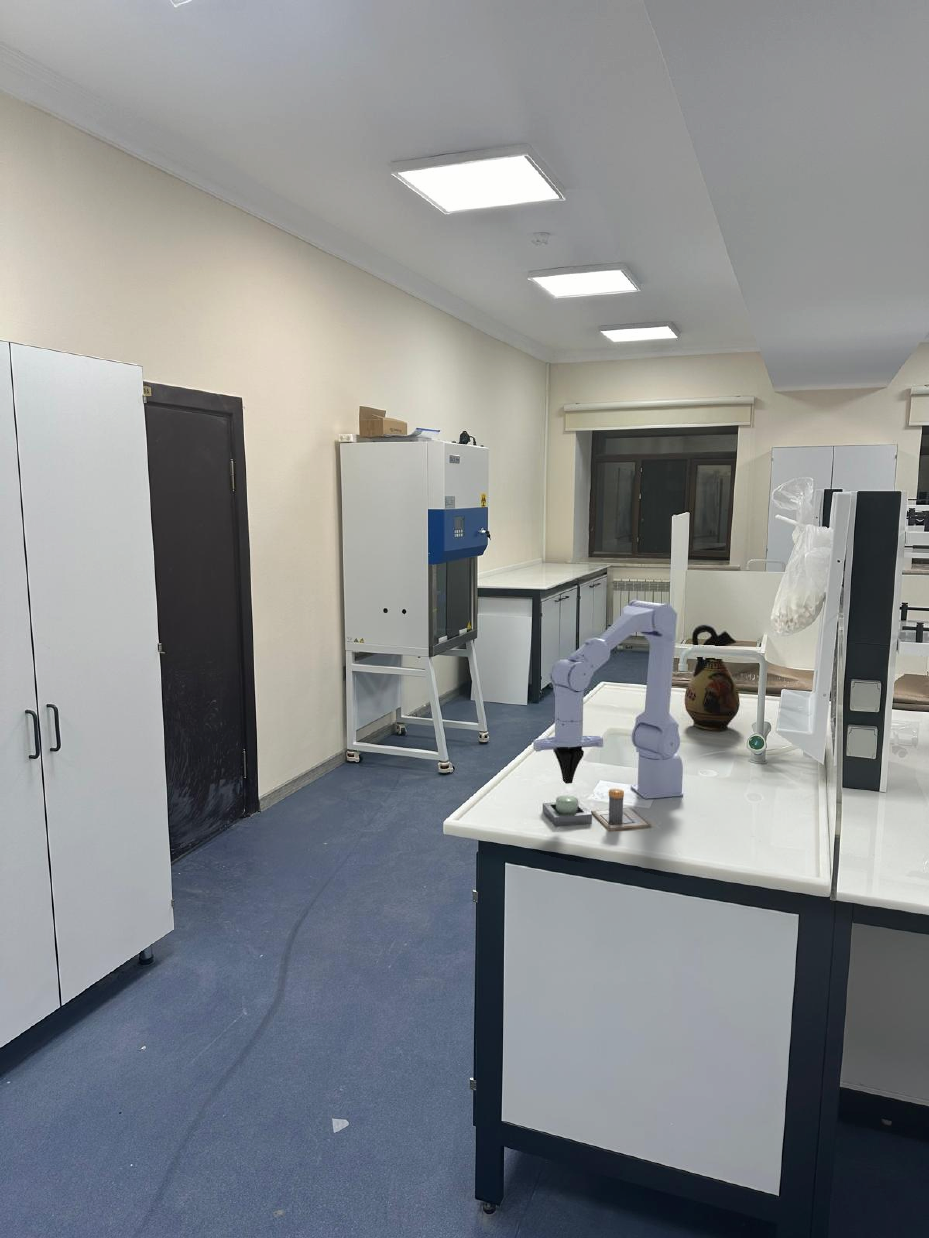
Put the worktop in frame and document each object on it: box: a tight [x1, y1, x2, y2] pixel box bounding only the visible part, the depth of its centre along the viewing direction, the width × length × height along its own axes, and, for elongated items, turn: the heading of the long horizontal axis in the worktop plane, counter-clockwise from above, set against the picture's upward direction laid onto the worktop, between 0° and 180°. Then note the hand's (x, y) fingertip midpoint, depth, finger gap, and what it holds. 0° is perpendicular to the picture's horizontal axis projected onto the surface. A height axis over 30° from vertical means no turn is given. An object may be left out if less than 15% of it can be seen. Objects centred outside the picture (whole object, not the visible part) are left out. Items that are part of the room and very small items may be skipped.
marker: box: [608, 788, 625, 825], centre depth 166 cm, size 3×3×6 cm
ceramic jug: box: [684, 624, 741, 732], centre depth 237 cm, size 17×15×30 cm
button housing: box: [542, 800, 593, 828], centre depth 170 cm, size 8×8×2 cm
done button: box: [555, 795, 579, 815], centre depth 170 cm, size 5×5×3 cm
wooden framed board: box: [590, 807, 652, 832], centre depth 169 cm, size 9×10×1 cm
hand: (567, 781), depth 169 cm, fingers closed
